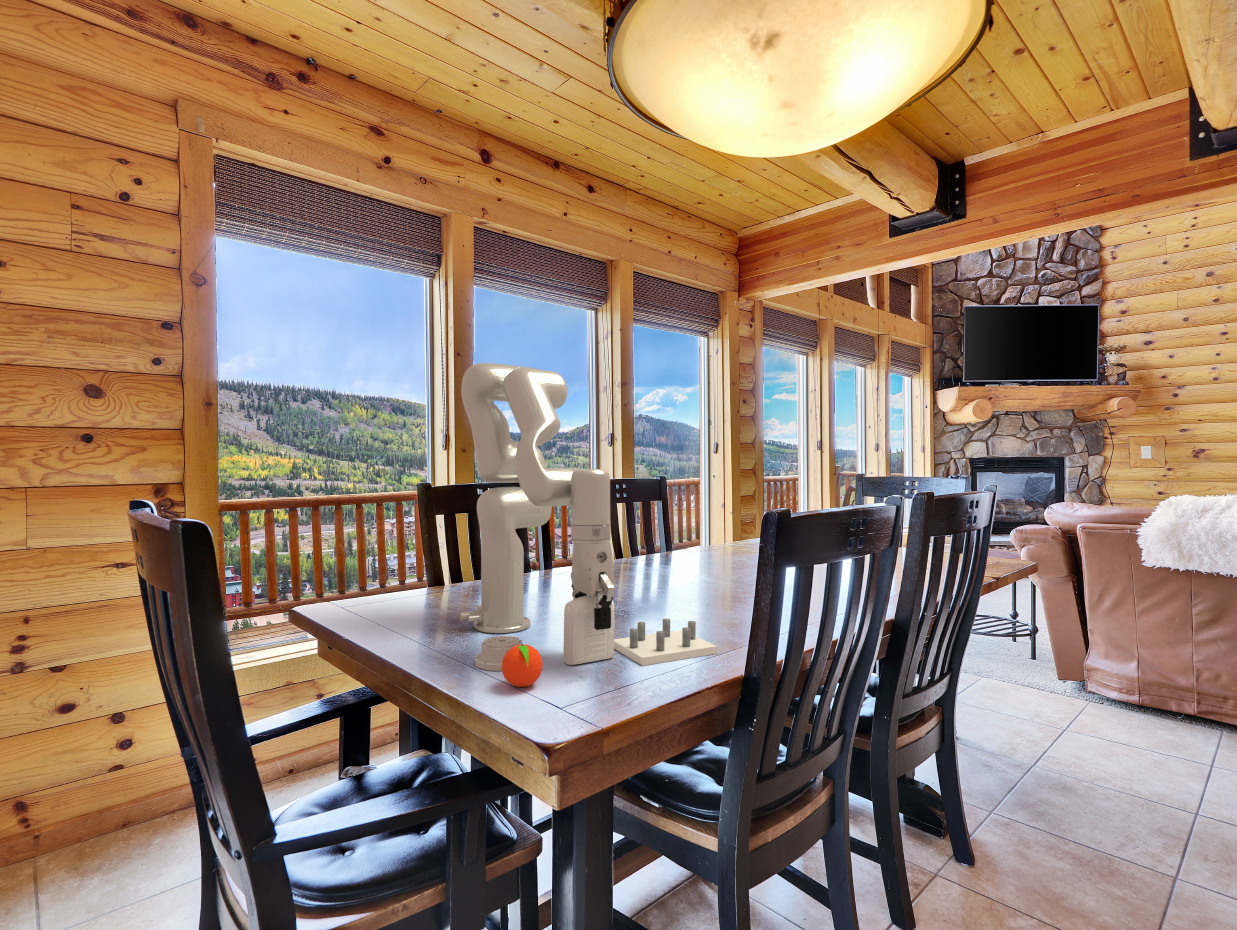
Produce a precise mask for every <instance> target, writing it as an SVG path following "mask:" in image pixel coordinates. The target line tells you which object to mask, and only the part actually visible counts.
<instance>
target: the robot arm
mask: <svg viewBox="0 0 1237 930" xmlns="http://www.w3.org/2000/svg"><path fill="white" fill-rule="evenodd" d="M460 392H461V400H462V404H463V408H464V411H465V412H466V416H467V418H468V422H469V423H470V426H471V427H470V428H471V432H472V434H471V435H472V439H473V448H474V453H475V459H476V467H477V470H478V474H479V477H480V478H481V480H482V481H484V482H488V483H493V484H494V483H495V484H496V483H497V484H499V483H501V484H503V483H505V484H506V483H518V484H519V486H502V487H493V488H489V489H487V490H485V491H484V492H482V493H481V494H480V496H478V499H477V502H476V514H477V520H478V525H479V531H480V555H481V556H480V558H481V559H480V562H481V563H480V564H481V565H480V566H481V569H480V570H481V571H480V576H481V577H480V578H481V579H480V583H481V584H480V605H477V607H476V609H473V610H472V611H462V612H459V615H458V616H459V622H466V621H467V622H468V623H471V622H473V628H474V629H475V630H476V631H479V632H482V633H487V634H509V633H516V632H521V631H524V630H526V629H527V628H529V627H530V626H531V619H530V618H529V617H526V616H524V590H525V588H524V585H525V584H524V580H525V579H524V575H525V574H524V571H525V569H524V567H525V566H524V565H525V564H524V563H525V561H524V558H525V557H524V555H525V551H524V546H523V543H522V540H521V539H520V537H519V536H518V534H517V532H516V530H517V529H524V528H525V529H526V528H536V527H541V526H543V525H545V524H547V522H549V520H550V518H551V515H552V509H553V507H561V506H563V507H564V506H565V507H567V506H570V536H571V537H570V540H571V541H570V542H571V543H572V544H573V546H572V555H571V556H572V557H571V572H570V578H571V579H570V580H571V582H572V583H571V588H572V593H571V596H572V598H573V599H572V600H574V599H576V598H579V597H583V596H588V595H590V596H593V598H594V601H595V604H596V607H597V608H594V628H595V629H596V630H602V629H609V628H611V607H612V601H613V602H614V592H615V574H614V573H615V571H614V557H613V551H612V544H611V477H610V476H611V475H610V473H609V472H608V470H605V469H601V468H581V467H580V468H579V467H547V465H546V462H545V461H546V460H545V459H544V456H543V453H542V450H541V449H539V446H540V447H541V446H542V445H543V444H546V443H548V442H549V441H551V440H552V439H553V438H555V436H556V435H558V433H559V432H560V429H561V421H560V418H559V416H558V414H557V412H556V410H555V409H559V408H561V407H562V406H564V404H565V403H566V400H567V399H568V386H567V383H566V381H565V379H564V378H563V376H562V375H560V374H559V373H558V372H556V371H553V370H546V369H545V370H544V369H539V368H533V367H527V366H517V365H511V364H502V363H493V362H479V363H475V364H472V365H471V366H469V367H468V368H467V369H466V370H465V372H464V374H463V377H462V380H461V391H460ZM496 401H497V402H507V403H508V405H509V408H510V411H511V412H512V416H513V418H514V420H515V422H516V425H517V427H518V429H519V432H520V434H521V437H520V439H519V441H514V440H513V439H512V438H511V437H512V436H511V432H510V431H511V430H510V425H509V422H508V420H507V417H506V416H505V415H504V413H503V412H502V410H501V409H500V408H499V407H498V406H497V405H496V404H495V402H496ZM601 596H602V598H601V600H600V599H599V597H601Z"/></svg>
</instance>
